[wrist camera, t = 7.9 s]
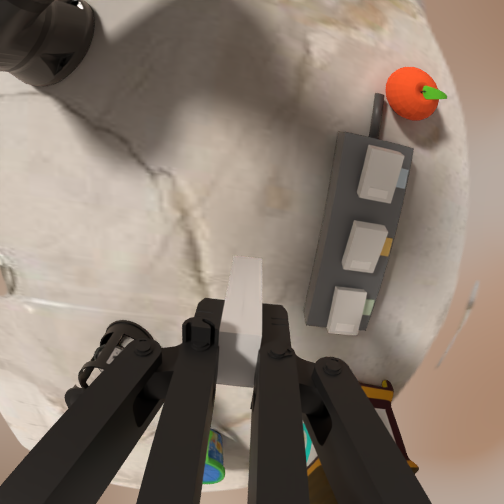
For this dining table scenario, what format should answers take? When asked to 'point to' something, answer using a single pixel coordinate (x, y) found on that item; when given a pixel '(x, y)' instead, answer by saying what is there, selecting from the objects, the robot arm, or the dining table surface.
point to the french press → (105, 353)
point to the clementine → (413, 93)
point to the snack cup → (214, 460)
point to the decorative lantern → (318, 483)
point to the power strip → (341, 221)
